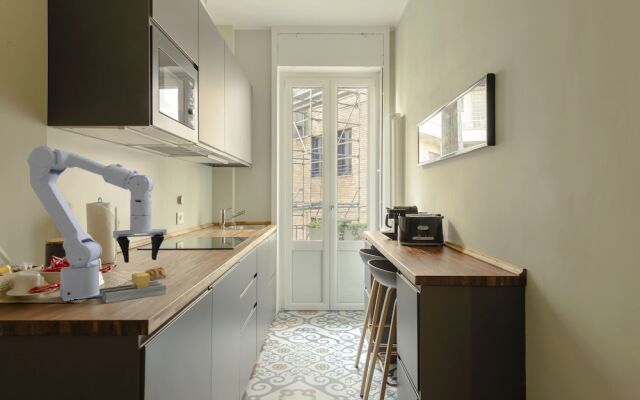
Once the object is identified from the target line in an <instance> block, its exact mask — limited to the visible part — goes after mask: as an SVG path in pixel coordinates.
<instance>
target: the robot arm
mask: <svg viewBox="0 0 640 400" xmlns="http://www.w3.org/2000/svg"><path fill="white" fill-rule="evenodd" d="M26 162H27V164H28V166H29V179H30V181H29V182H30V186H31V189H33V191H34V192H35V195H36V196H37V197H38V200H39V201H40V203H41V204H42V206H43V207H44V209H45V210H46V212H47V214H48V215H49V218H50V219H51V220H52V222H53V224H54V225H55V227H56V229H57V230H58V231H59V233H60V235H61V236H62V238H63V242H62V248H63V249H64V252H65V259H66V261H67V263H68V264H69V266H66V267H61V268H60V277H59V278H60V279H59V280H60V281H59V283H60V285H59V286H60V289H59V297H60V296H61V297H60V298H61V300H62V301H63V302H69V301H70V300H71V301H75V300H74V299H78V300H84V299H91V298H98V297H99V288H100V262H99V259H100V257H102V254H103V247H102V246H101V244H100V243H99V242H97V241H96V240H95V239H93V237H92V235H91V234H89V233H88V232H86V231H85V230H84V229H83V227H82V225H81V224H80V222H79V220H78V219H77V218H76V215H75V214H74V212H73V211H72V209H71V207H70V205H69V204H68V203H67V201H66V199H65V197H64V195H62V192H61V191H60V189H59V187H58V186H57V185H56V183H57V181H58V179H59V177H60V176H61V175H62V174H63V173H64V172H65V171H66V170H67V169H68V168H69V169H73V168H78V169H80V170H81V169H82V170H84V171H86V172H90V173H92V174H96V175H98V176H101V177H102V179H103V180H104V182H105V183H107V184H110V185H113V186H116V187H118V188H120V189H124V190H128V191H129V192H130V202H129V203H130V204H129V206H130V207H129V208H130V209H129V210H130V211H129V213H130V216H129V219H130V220H129V229H124V230H123V229H122V230H113V231H112V239H116V242H117V245H119V248H120V251H121V253H122V256H123V261H124V263H125V264H127V263H130V255H129V254H130V253H129V251H130V239H129V238H137V237H139V238H141V237H150V242H151V260H153V261H156V260H157V258H158V253H159V250H160V247H161V246H162V243H163V242H164V240H165V236H167V235H168V234H167V232H168V230H167V229H166V228H152V191H153V189H154V186H155V185H154V184H155V183H154V182H153V181H154V180H152V178H150V177H149V176H147V175H145V174H139V171H137V170H130V169H128V168H126V167H124V166H123V165H122V164H120V163H116V164H114V163H112V164H108V165H105V164H102V163H100V162H98V161H95V160H92V159H90V158H87V157H86V156H82V155H80V154H78V153H74V152H70V151H65V150H61V149H56V148H50V147H48V146H45V145H41V146H40V145H39V146H37V147H34V149H33V150H31V153H30V154H29V156H28V158H27V160H26ZM99 298H100V297H99Z"/></svg>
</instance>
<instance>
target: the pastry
mask: <svg viewBox="0 0 640 400" xmlns="http://www.w3.org/2000/svg"><path fill="white" fill-rule="evenodd" d="M144 272H145V273H147V274H149V275H150V282H151V281H158V280H163V279H166V278H167V277H168V276H167V272H166V270H165V268H163V267H162V266H161V267H157V268H150V269H147V270H145V271H144Z"/></svg>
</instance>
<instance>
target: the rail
mask: <svg viewBox="0 0 640 400" xmlns="http://www.w3.org/2000/svg"><path fill="white" fill-rule="evenodd" d="M166 294H167V285H166V284H162V282H159V281H158V280H152V281H150V283H148V287H145V288H138V289H137V286H134V283H130V284H121V285H115V286H114V285H113V286H108V287H107V286H106V287H99V299H101V301H103V302H104V303H105V304H110V303H111V304H112V303H116V302H117V303H118V302H123V301H128V300H136V299H141V298H148V297H154V296H160V295H166Z"/></svg>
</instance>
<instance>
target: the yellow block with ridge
mask: <svg viewBox="0 0 640 400" xmlns="http://www.w3.org/2000/svg"><path fill="white" fill-rule="evenodd" d="M145 272H146V271H143V272H136V273H135V272H134V273H131V283H132V284H134V286H137V289H138V288H145V287H148V283H150V282H151V281H150V275H149V274H147V273H145Z"/></svg>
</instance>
